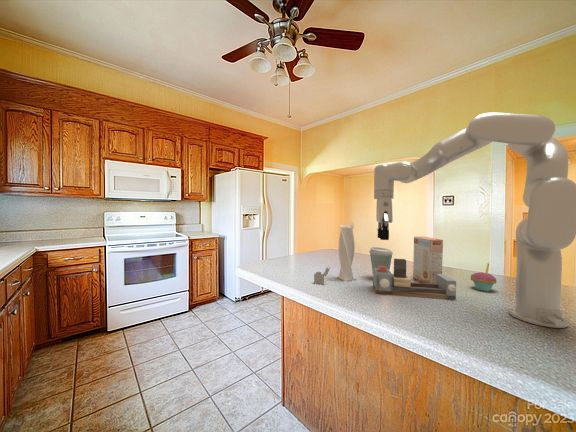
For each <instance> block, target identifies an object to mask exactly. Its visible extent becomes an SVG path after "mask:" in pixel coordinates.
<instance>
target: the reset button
mask: <svg viewBox="0 0 576 432" xmlns="http://www.w3.org/2000/svg"><path fill="white" fill-rule="evenodd" d="M378 272H387V267H386V266H380V265H378Z"/></svg>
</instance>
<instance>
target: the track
mask: <svg viewBox="0 0 576 432" xmlns="http://www.w3.org/2000/svg"><path fill="white" fill-rule="evenodd" d="M372 287H373V289H374V292H375V294H376V295H385V296H386V295H388V296H399V297H412V298H413V297H415V298H426V299H427V298H428V299H440V300H452V299H453V297H454V300H453V301H456V300H457V295H456V296H453V297H452V296H451V295H448V299H447V295H446V290H444V289H438V284H429V283H421V282H411V287H397V286H393V291H383V290H376V288H375V286H374V285H373V284H372ZM376 291H377V293H376ZM378 292H379V294H378ZM387 292H388V293H389V294H388V293H387ZM380 293H381V294H380ZM382 293H383V294H382ZM386 293H387V294H386ZM390 293H392V295H390ZM449 296H450V298H449ZM451 297H452V299H451Z"/></svg>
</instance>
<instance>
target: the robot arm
mask: <svg viewBox="0 0 576 432" xmlns="http://www.w3.org/2000/svg"><path fill="white" fill-rule="evenodd" d="M467 125H468V126H467V127H464V128H462V129H461V130H459V131H457V132H455V133H453V134H451V135H449V136H447V137H446V138H444V139H442V140H439V141H438V142H437V143H435V144H434V145H433V146H432V147H431V148H430V150H429V151H427V153H425V154H424V155H422V156H421V157H419V158H417V159H416V160H414V161H412V162H409V161H406V160H405V161H404V160H403V161H399V162H398V161H397V162H394V163H389V164H387V163H386V164H378V165H376V166H375V167H374V169H373V170H374V173H373V175H374V176H373V177H374V178H373V183H374V184H373V186H374V187H373V199H374V200H376V209H375V210H376V222H377V238H378V239H380V240H381V241H389V239H390V228H389V226H390V225H389V224H391V223H392V222H394V221H393V199H394V196H395V195H394V193H395V192H394V189H395V188H394V186H395V181H398V182H401V183H402V184H409V183H410V184H411V183H413V182H414V181H415V182H416V181H417V180H419V179H421V178H424V177H426V176H428V175H430V174H431V173H433V172H435V171H437V170H439V169H441V168H443V167H445V166H447V165H448V164H450V163H452V162H454V161H456V160H458V159H460V158H462V157H464V156H466V155H468V154H471V153H473V152H476V151H477V150H479V149H482V148H483V147H485V146H487V145H489V144H492V143H493V142H494V143H503V144H507V146H508V148H509V149H510V150H511V152H514V153H517V154H518V155H520V156H522V157H523V158H524V160H525V161H526V176H525V182H524V189H523V195H522V200H523V203H524V205H525V206H526V207H527V208H528V212H527V217H526V218H524V219H522V220H521V221H520V222H519V223H518V225H517V226H516V229H515V246H516V270H515V305H514V306H511V307H509V308H508V314H510V316H512V317H514V318H516V319H517V320H521V321H522V322H526V323H529V324H532V325H537V326H542V327H546V328H552V329H553V328H554V329H563V328H564V329H565V328H567V327H568V326H569V323H570V320H569V319H567V318H565V317H563V313H564V312H563V310H561V306H562V305H561V304H562V303H561V302H562V301H561V299H562V297H561V296H562V291H561V290H562V270H563V261H562V260H563V257H562V250H563V249H566V248H568V247H569V246H570V245H571V244H572V243H573V242H574V240H575V239H576V182H575V181H573V180H572V179H569V178H568V177H569V153H568V151H567V148H566V147H565V146H564V145H563V144H562V142H561V141H559V140H558V139H557V138H555V137H553V136H554V134H555V131H556V125H555V122H554V121H553V119H551V118H550V117H547V116H545V115H541V114H540V115H539V114H530V113H529V114H527V113H512V112H494V111H492V112H484V113H480V114H478V115H476V116H475V117H473V118H472V119H471V120H470V121H469V123H468V124H467Z"/></svg>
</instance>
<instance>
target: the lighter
mask: <svg viewBox="0 0 576 432" xmlns="http://www.w3.org/2000/svg"><path fill="white" fill-rule="evenodd" d="M330 270H331V267H330V266H327V267H326V268H325V270H324V272H323V273H322V271H316V272H315V273H314V274H313V284H314V283H316V284H315V285H322V286H323V285H324V284H325V277H327V276H328V273H329V272H330Z"/></svg>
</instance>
